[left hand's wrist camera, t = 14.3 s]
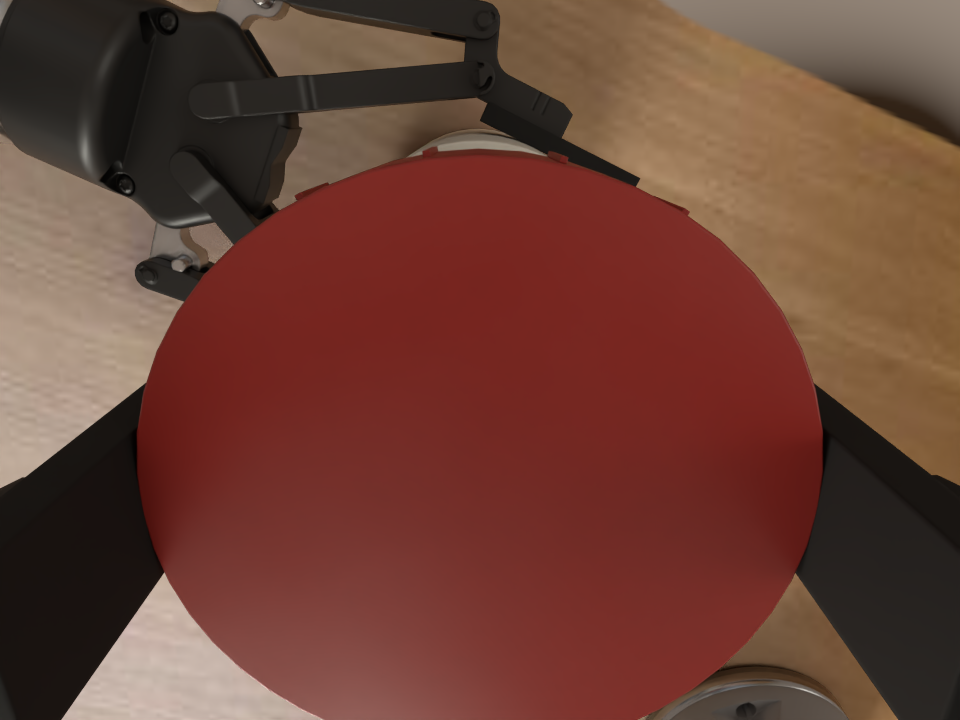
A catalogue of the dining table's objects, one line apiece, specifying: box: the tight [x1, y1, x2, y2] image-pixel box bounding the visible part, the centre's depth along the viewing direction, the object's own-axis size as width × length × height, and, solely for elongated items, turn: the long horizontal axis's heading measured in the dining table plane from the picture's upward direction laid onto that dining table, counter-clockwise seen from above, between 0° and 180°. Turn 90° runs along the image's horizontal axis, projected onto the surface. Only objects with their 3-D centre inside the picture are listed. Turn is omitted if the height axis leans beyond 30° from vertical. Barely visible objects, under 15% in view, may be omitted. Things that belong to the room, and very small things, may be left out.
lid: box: [137, 146, 823, 720], centre depth 11 cm, size 11×11×2 cm
